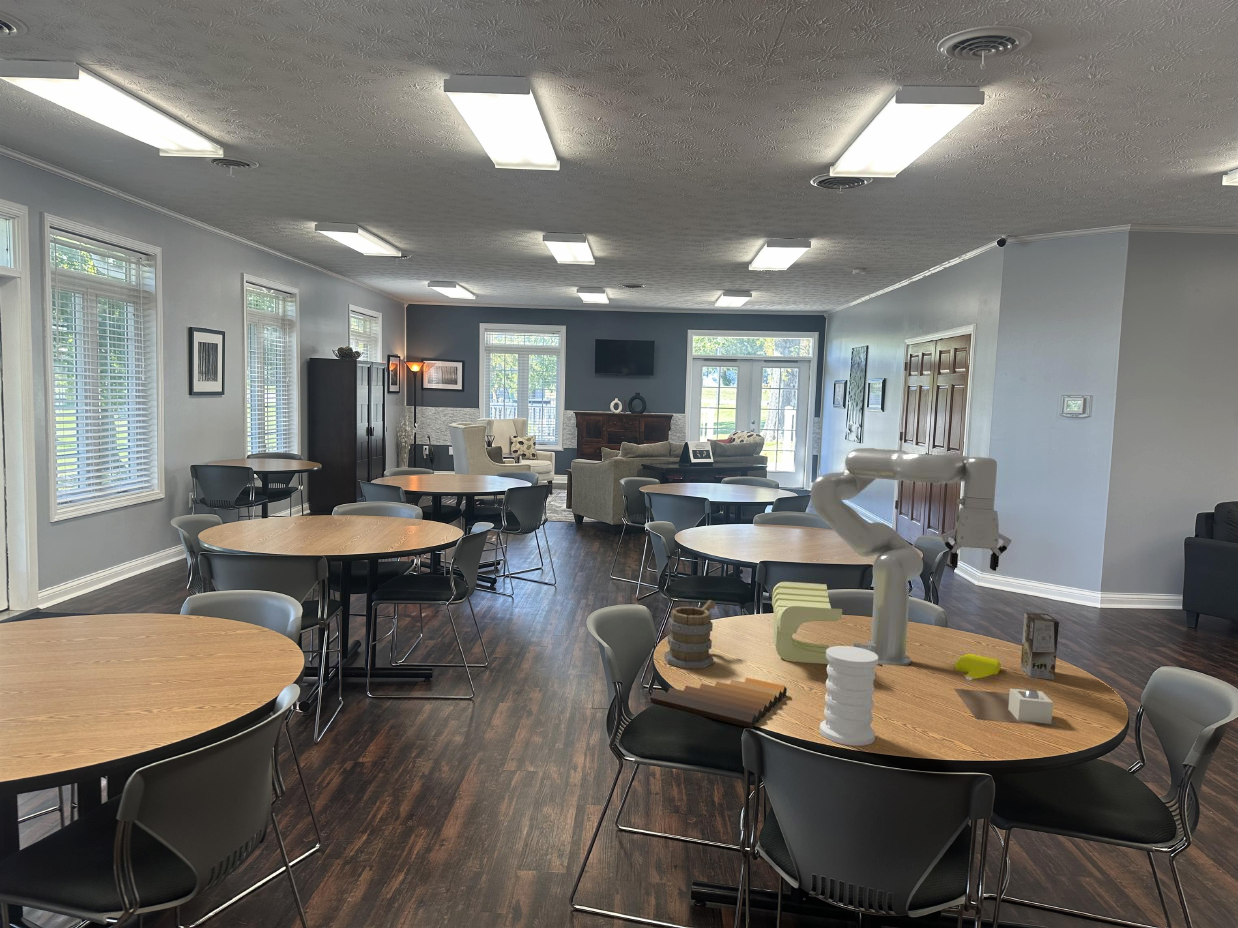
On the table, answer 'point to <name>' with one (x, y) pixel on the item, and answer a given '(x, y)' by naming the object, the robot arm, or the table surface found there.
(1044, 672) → the coffee box
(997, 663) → the spray bottle
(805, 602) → the slatted curved stool
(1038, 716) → the collar
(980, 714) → the board
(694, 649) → the tankard
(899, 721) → the table surface
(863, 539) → the robot arm
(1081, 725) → the table surface
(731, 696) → the pan flute
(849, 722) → the decorative container
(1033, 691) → the post
